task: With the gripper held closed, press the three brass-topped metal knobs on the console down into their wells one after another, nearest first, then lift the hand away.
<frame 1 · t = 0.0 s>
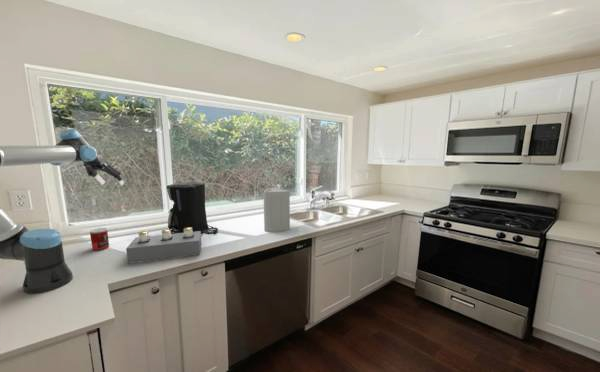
hand: (113, 183, 151), 36 cm above the worktop, tool tilted 35°, fingers open, 13 cm apart
knob far: (188, 234, 141), point 9 cm above the worktop, slide at 3.0 cm
knob near: (143, 239, 134), point 9 cm above the worktop, slide at 3.0 cm
coffee maker: (190, 232, 171), on the worktop
console: (168, 252, 139), on the worktop
knob middle: (166, 236, 137), point 9 cm above the worktop, slide at 3.0 cm
canned food: (101, 248, 145), on the worktop
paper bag: (273, 229, 178), on the worktop
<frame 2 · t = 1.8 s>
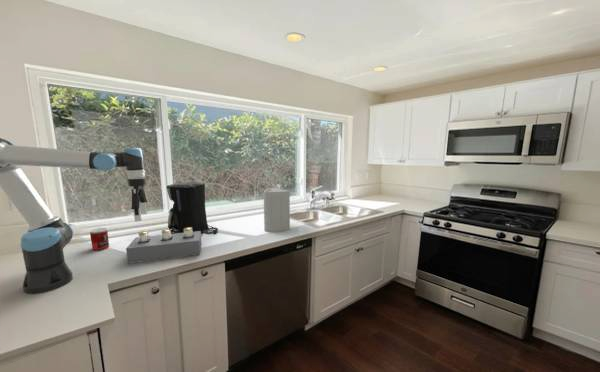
hand: (141, 217, 133), 21 cm above the worktop, tool pointing down, fingers open, 13 cm apart
nothing on the worktop moved.
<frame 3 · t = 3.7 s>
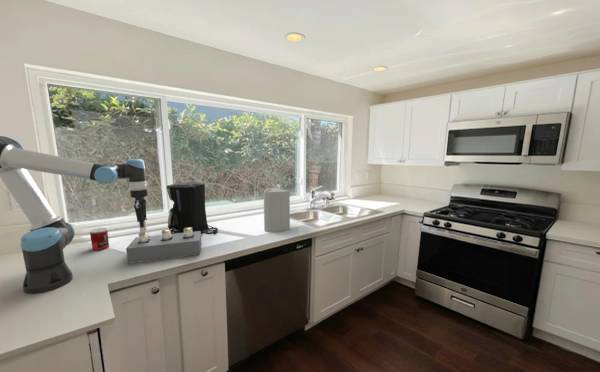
hand: (143, 232, 133), 13 cm above the worktop, tool pointing down, fingers closed
knob near: (143, 239, 134), point 9 cm above the worktop, slide at 2.6 cm, touching gripper
everything else where it was.
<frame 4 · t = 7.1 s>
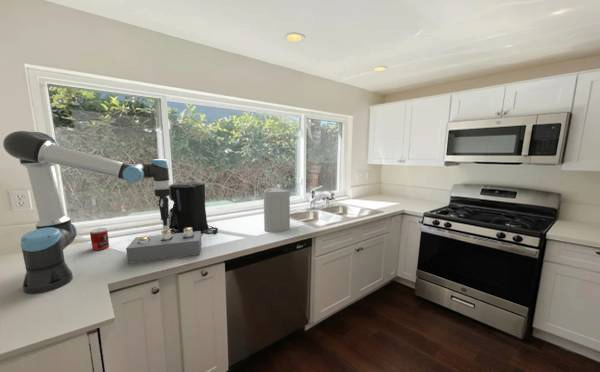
hand: (166, 230, 137), 13 cm above the worktop, tool pointing down, fingers closed
knob near: (144, 244, 134), point 6 cm above the worktop, slide at -0.1 cm
knob middle: (166, 237, 137), point 9 cm above the worktop, slide at 2.5 cm, touching gripper
everything else where it was.
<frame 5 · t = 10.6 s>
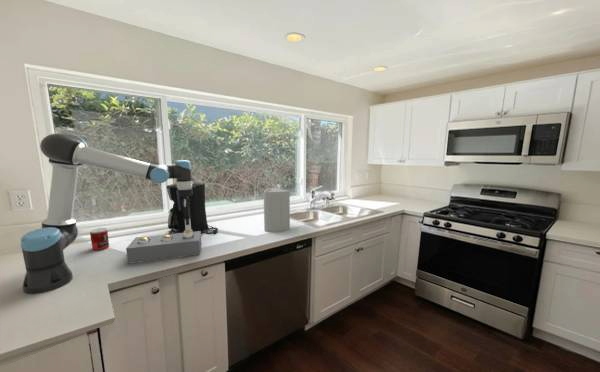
hand: (188, 229, 140), 12 cm above the worktop, tool pointing down, fingers closed
knob far: (188, 236, 141), point 8 cm above the worktop, slide at 1.7 cm, touching gripper
knob middle: (167, 242, 138), point 6 cm above the worktop, slide at -0.1 cm
everything else where it was.
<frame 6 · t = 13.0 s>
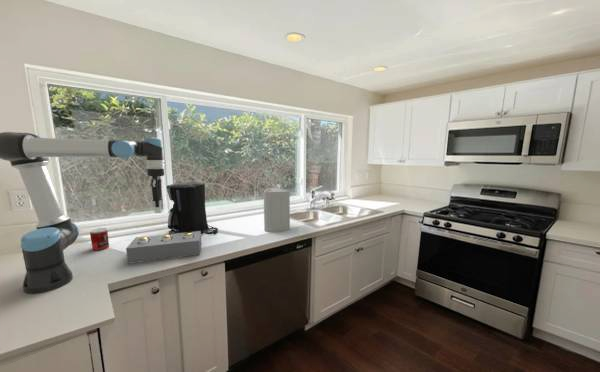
hand: (158, 212, 132), 24 cm above the worktop, tool pointing down, fingers closed
knob far: (188, 239, 141), point 6 cm above the worktop, slide at -0.1 cm
everything else where it was.
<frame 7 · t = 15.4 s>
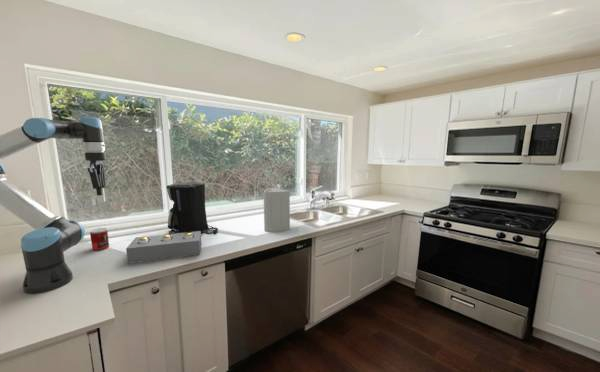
hand: (101, 201, 119), 32 cm above the worktop, tool pointing down, fingers closed
nothing on the worktop moved.
at the end: knob near slide at -0.1 cm; knob middle slide at -0.1 cm; knob far slide at -0.1 cm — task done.
